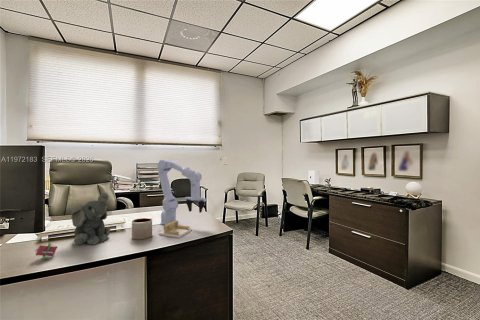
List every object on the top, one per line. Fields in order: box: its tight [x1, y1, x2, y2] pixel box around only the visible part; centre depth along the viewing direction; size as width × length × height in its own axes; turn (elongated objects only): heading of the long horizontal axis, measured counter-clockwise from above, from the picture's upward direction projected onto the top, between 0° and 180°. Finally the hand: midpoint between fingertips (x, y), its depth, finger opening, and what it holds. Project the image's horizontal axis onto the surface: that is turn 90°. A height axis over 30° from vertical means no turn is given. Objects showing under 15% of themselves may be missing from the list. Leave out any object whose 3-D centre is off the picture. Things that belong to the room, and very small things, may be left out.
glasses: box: [163, 219, 190, 235], centre depth 139 cm, size 10×12×4 cm
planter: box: [131, 217, 153, 241], centre depth 133 cm, size 11×11×10 cm
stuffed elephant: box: [70, 192, 111, 245], centre depth 127 cm, size 19×21×27 cm
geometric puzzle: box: [35, 241, 58, 260], centre depth 104 cm, size 7×7×8 cm
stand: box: [158, 227, 192, 238], centre depth 139 cm, size 14×12×3 cm
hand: (195, 211), depth 152 cm, fingers open, 7 cm apart
